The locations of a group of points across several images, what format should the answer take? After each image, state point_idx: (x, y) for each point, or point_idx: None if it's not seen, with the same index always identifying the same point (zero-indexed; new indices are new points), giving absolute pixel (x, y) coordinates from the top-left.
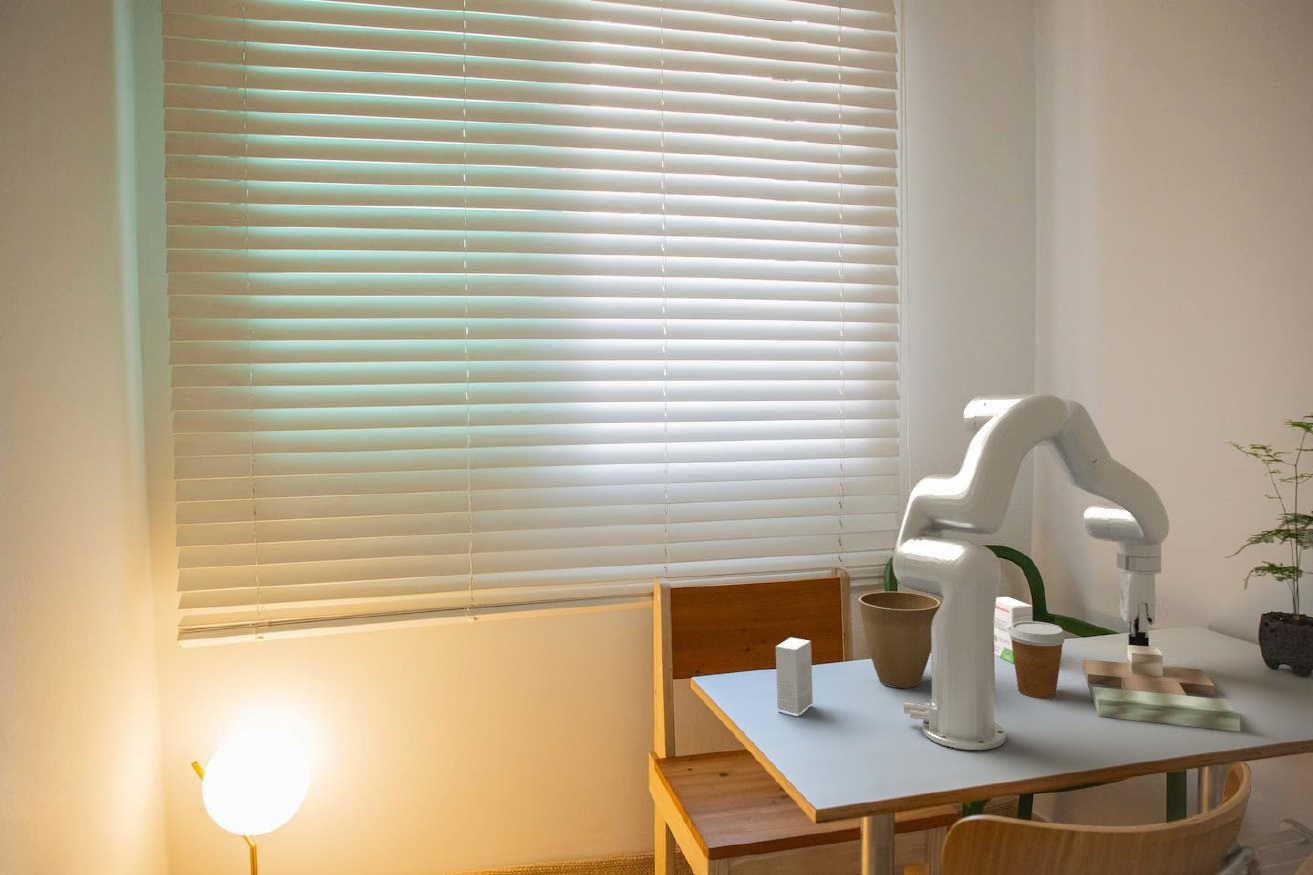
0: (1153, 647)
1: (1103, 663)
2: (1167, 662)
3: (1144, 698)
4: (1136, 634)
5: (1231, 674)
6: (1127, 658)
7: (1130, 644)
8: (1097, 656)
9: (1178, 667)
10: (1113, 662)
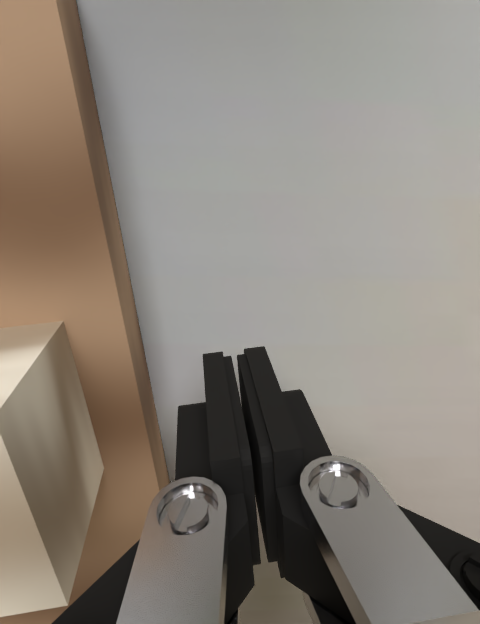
0: (39, 585)
1: (10, 152)
2: (400, 457)
3: None
4: (124, 560)
5: (302, 620)
6: (40, 345)
7: (208, 406)
8: (437, 125)
9: None
10: (85, 231)
